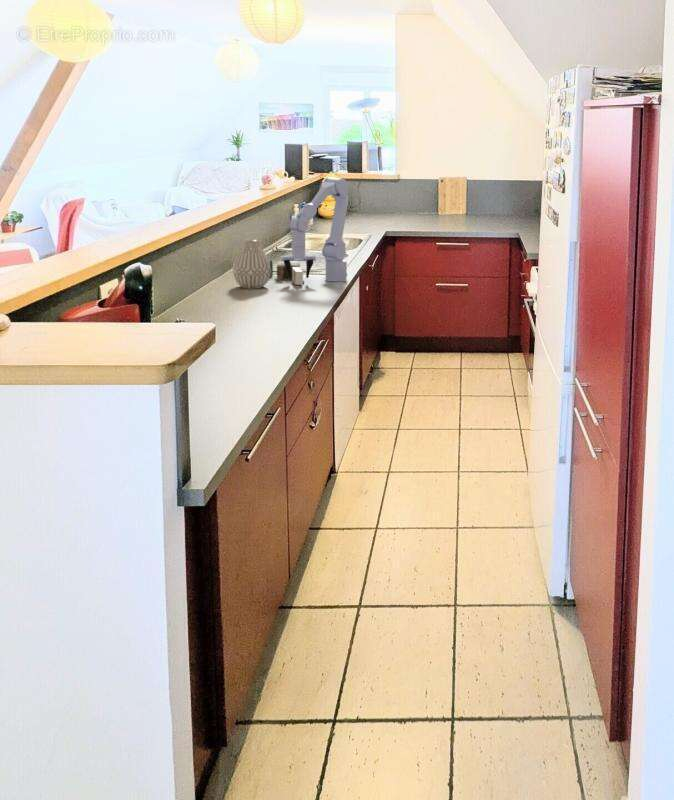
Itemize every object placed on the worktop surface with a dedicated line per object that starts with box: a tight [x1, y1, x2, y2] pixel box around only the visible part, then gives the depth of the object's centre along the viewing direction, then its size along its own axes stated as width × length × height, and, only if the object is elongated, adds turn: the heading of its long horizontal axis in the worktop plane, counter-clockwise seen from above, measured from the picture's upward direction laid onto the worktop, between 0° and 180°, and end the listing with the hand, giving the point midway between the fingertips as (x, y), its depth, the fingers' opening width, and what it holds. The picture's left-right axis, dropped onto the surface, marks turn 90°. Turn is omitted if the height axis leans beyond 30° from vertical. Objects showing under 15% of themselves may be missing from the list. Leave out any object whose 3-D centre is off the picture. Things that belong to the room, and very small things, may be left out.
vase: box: [232, 238, 271, 290], centre depth 413 cm, size 16×16×20 cm
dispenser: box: [276, 261, 301, 281], centre depth 437 cm, size 10×8×7 cm
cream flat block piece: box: [291, 267, 304, 286], centre depth 425 cm, size 3×12×6 cm, turn 10°
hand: (298, 277), depth 423 cm, fingers open, 7 cm apart
